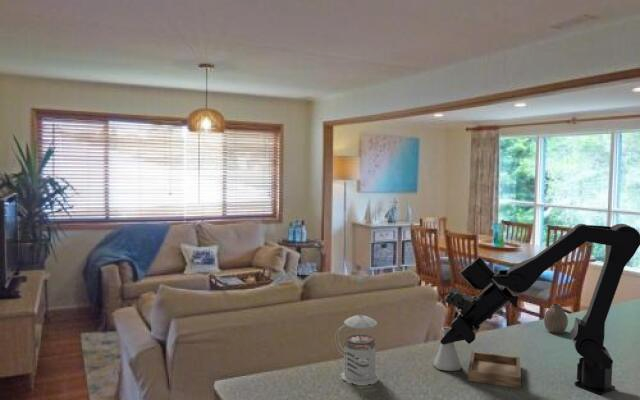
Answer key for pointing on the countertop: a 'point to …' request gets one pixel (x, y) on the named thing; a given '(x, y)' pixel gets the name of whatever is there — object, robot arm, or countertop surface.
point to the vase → (555, 319)
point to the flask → (447, 356)
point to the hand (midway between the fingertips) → (442, 340)
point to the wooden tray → (495, 369)
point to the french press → (361, 369)
